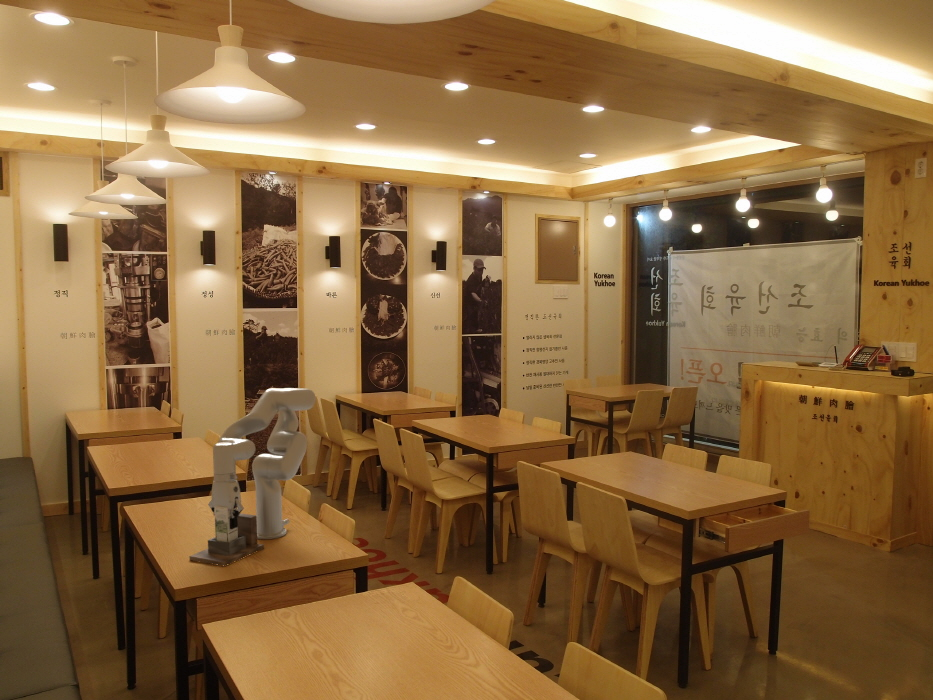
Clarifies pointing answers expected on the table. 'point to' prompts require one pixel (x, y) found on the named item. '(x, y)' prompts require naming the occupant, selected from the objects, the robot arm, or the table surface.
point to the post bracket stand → (232, 544)
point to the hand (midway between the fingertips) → (226, 526)
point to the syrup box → (224, 525)
